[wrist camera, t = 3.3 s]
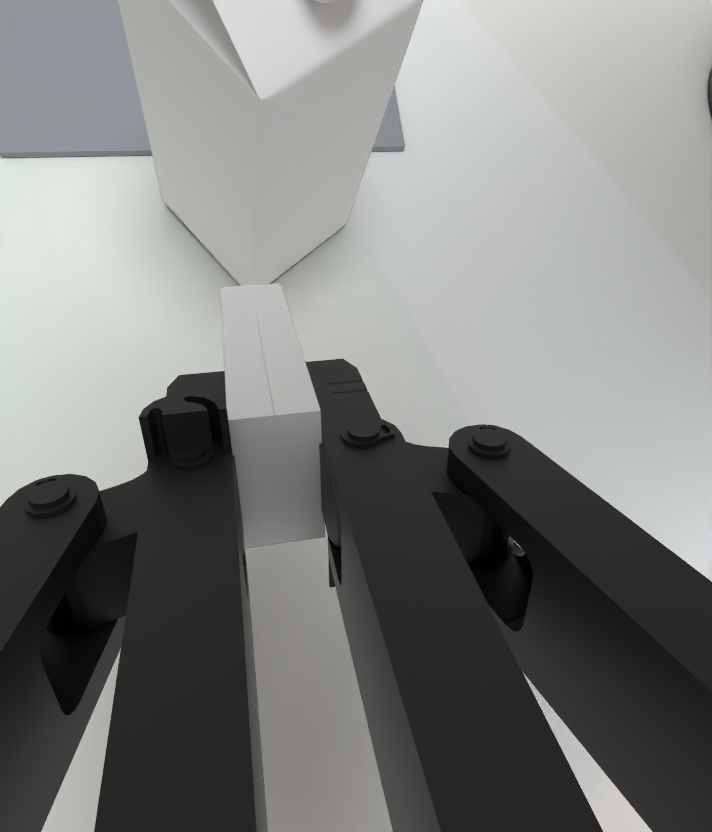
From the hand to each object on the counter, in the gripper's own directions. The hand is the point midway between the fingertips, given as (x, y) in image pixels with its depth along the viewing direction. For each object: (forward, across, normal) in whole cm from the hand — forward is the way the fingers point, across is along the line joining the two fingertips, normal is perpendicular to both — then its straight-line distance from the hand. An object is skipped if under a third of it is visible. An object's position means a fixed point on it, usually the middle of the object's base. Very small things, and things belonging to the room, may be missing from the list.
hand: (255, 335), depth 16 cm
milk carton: (+20, +1, -1) cm, 20 cm away
